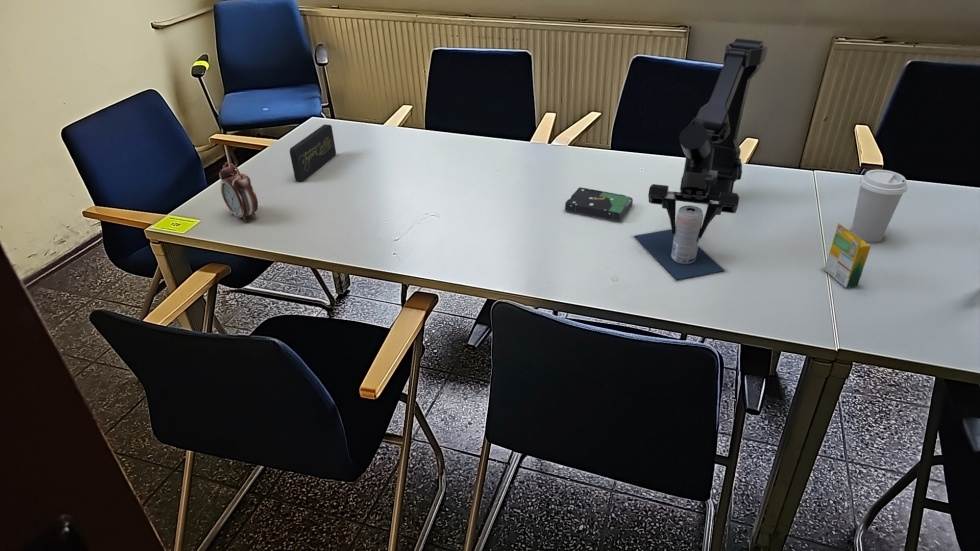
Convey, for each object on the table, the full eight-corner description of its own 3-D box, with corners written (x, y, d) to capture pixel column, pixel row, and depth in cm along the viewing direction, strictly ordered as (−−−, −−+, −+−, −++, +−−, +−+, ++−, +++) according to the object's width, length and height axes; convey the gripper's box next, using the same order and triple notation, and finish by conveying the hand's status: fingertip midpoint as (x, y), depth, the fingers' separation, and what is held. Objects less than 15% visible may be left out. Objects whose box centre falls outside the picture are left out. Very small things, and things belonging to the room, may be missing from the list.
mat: (677, 229, 159) (677, 228, 158) (724, 271, 142) (724, 270, 142) (634, 236, 156) (634, 235, 156) (676, 280, 140) (676, 279, 140)
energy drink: (696, 254, 148) (704, 206, 141) (694, 266, 144) (702, 218, 137) (672, 250, 150) (678, 203, 143) (669, 262, 145) (676, 215, 139)
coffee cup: (870, 250, 148) (891, 189, 140) (834, 232, 155) (851, 173, 147) (898, 239, 152) (919, 179, 143) (861, 222, 159) (880, 164, 151)
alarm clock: (225, 213, 172) (211, 160, 164) (242, 207, 175) (228, 154, 167) (247, 226, 166) (233, 171, 158) (264, 219, 169) (251, 165, 161)
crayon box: (858, 286, 136) (874, 237, 130) (845, 288, 136) (861, 239, 129) (835, 268, 142) (850, 220, 136) (823, 270, 142) (837, 222, 135)
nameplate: (301, 182, 187) (294, 149, 182) (295, 182, 188) (288, 149, 182) (336, 154, 204) (331, 123, 199) (331, 154, 205) (325, 123, 199)
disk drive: (564, 212, 168) (620, 223, 162) (564, 202, 166) (621, 212, 160) (578, 196, 175) (632, 205, 170) (578, 186, 174) (633, 195, 168)
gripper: (654, 149, 140) (641, 219, 137) (746, 158, 134) (735, 231, 132) (654, 169, 150) (643, 234, 148) (740, 178, 145) (730, 245, 142)
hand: (686, 235), depth 142 cm, fingers closed on energy drink, 5 cm apart
